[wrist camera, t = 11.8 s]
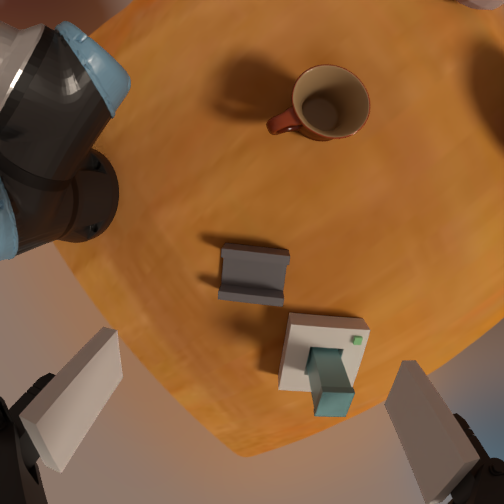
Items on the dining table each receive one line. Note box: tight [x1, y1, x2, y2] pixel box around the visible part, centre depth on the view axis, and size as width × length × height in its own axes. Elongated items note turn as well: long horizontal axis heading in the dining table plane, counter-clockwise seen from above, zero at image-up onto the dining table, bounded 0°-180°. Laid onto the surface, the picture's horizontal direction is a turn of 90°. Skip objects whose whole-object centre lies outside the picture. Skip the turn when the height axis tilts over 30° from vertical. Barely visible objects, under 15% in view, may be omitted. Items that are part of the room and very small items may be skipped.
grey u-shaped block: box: [218, 243, 290, 307], centre depth 43 cm, size 9×7×4 cm
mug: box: [266, 65, 370, 141], centre depth 34 cm, size 12×9×10 cm
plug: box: [306, 347, 355, 417], centre depth 40 cm, size 4×4×14 cm
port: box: [278, 312, 370, 392], centre depth 45 cm, size 12×12×5 cm
